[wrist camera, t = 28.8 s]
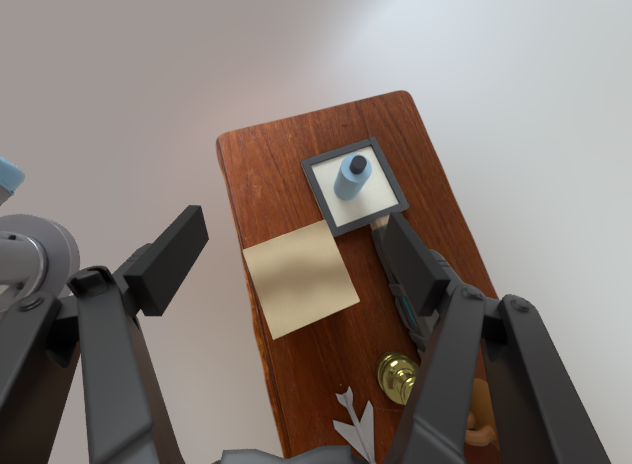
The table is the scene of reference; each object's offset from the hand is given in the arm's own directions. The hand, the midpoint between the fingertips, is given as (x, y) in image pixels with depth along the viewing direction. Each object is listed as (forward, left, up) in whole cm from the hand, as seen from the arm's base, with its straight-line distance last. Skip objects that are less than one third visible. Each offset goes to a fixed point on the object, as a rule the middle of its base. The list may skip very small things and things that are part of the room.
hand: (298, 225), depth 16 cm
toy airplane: (+31, -1, -31) cm, 44 cm away
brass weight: (+26, +9, -31) cm, 41 cm away
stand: (+3, -1, -31) cm, 31 cm away
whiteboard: (-11, +17, -31) cm, 37 cm away
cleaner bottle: (-11, +15, -29) cm, 35 cm away
